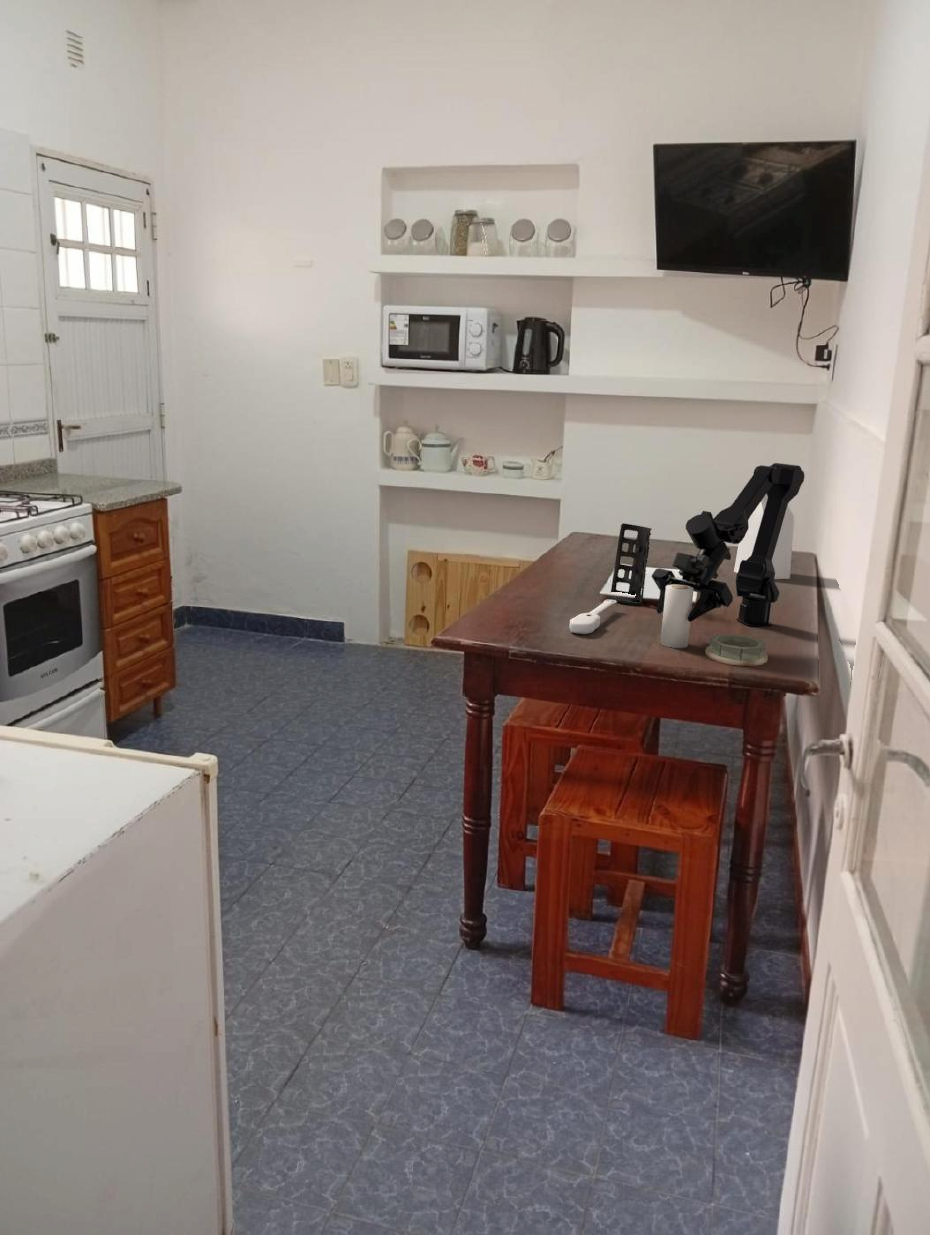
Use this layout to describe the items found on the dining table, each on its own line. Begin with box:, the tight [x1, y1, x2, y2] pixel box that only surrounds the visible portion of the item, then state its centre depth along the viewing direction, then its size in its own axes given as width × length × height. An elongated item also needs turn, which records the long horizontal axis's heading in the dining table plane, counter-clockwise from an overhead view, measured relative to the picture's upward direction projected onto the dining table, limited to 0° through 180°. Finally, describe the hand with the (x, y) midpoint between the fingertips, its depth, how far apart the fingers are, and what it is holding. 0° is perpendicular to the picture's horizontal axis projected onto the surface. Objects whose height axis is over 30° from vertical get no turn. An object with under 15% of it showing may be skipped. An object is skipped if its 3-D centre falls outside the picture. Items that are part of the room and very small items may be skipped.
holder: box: [609, 523, 652, 607], centre depth 258 cm, size 11×8×20 cm
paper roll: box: [659, 585, 694, 649], centre depth 220 cm, size 6×6×13 cm
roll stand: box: [704, 633, 769, 667], centre depth 213 cm, size 13×13×4 cm
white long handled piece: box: [569, 599, 618, 635], centre depth 237 cm, size 28×6×3 cm, turn 156°
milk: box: [733, 493, 795, 580], centre depth 299 cm, size 12×12×26 cm
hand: (673, 616), depth 219 cm, fingers open, 8 cm apart
